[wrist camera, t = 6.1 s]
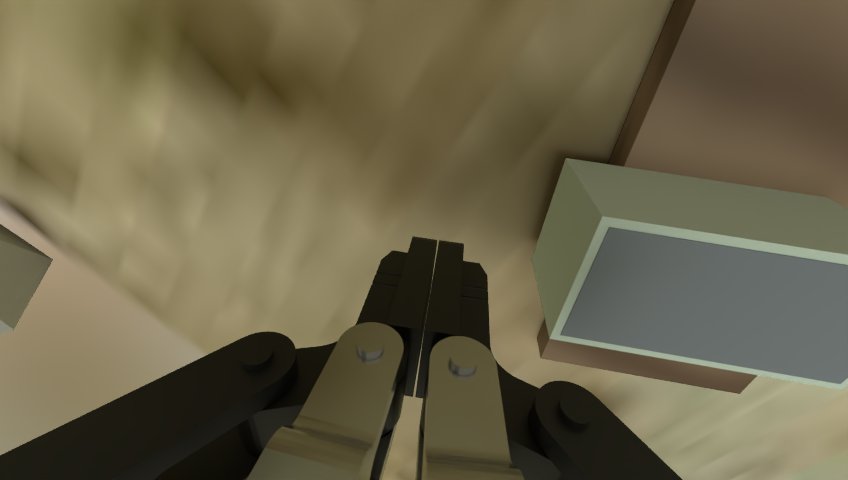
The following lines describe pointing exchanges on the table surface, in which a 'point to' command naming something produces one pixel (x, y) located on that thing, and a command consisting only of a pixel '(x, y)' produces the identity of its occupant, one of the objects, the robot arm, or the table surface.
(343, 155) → the table surface
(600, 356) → the board
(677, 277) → the sage block
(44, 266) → the die
